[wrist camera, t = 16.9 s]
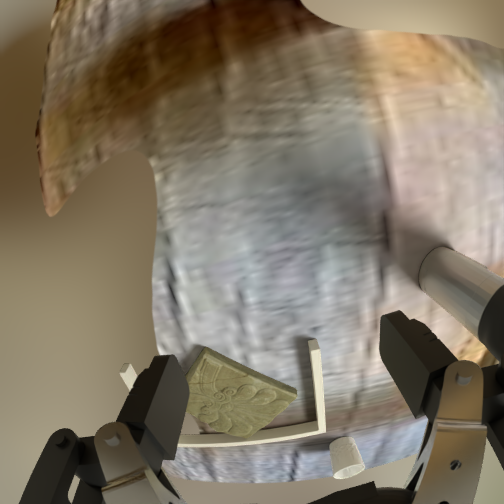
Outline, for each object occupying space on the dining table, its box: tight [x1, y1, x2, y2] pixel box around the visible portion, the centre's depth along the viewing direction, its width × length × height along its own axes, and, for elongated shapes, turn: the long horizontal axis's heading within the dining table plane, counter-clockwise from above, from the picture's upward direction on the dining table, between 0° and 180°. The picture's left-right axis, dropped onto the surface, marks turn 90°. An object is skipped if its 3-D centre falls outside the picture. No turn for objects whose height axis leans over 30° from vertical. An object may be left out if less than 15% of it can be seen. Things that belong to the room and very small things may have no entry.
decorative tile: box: [185, 347, 297, 439], centre depth 47 cm, size 19×20×4 cm
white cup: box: [329, 437, 365, 479], centre depth 50 cm, size 8×8×10 cm
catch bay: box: [119, 339, 326, 447], centre depth 48 cm, size 37×26×3 cm
